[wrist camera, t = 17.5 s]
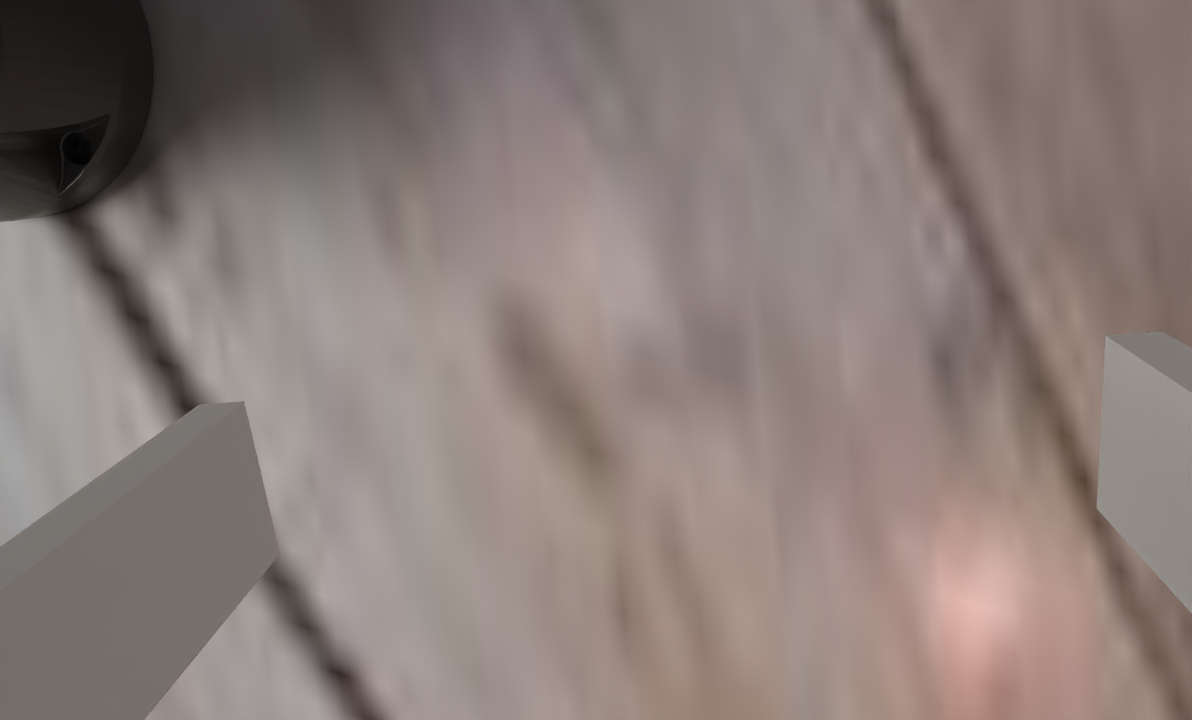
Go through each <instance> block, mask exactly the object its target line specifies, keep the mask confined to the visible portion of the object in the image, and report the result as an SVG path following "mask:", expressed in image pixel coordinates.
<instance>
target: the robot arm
mask: <svg viewBox="0 0 1192 720" xmlns="http://www.w3.org/2000/svg"><path fill="white" fill-rule="evenodd" d="M152 81H153V64H152V52H151V44H150V38H149V33H148V29H147V24H146V21H145V17H144V14H143V10H142V8H141V5H140V2H139V0H0V222H3V221H15V220H22V219H29V218H36V217H43V216H48V215H53V214H57V213H60V212H63V211H66V210H69V209H71V208H74V207H76V206H78V205H80V204H82V203H84V202H86V201H87V200H89V199H90V198H92V197H94V196H95V195H96V194H98V193H99V192H100V191H102V190H103V189H104V188H105V187H106V186H107V185H108V184H109V183H111V181H112V180H113V179H114V178H115V177H116V176H117V175H118V174H119V173H120V171H121V170H122V169H123V167H124V166H125V165H126V163H127V162H128V160H129V159H130V157H131V155H132V154H133V152H134V150H135V148H136V146H137V144H138V142H139V139H140V137H141V135H142V132H143V129H144V126H145V123H146V120H147V116H148V112H149V107H150V102H151V94H152ZM1097 509H1098V510H1099V511H1100V513H1101V514H1102V515H1103V516H1104V517H1105V518H1106V519H1107V520H1108V521H1109V523H1110V524H1111V525H1112V526H1113V527H1114V528H1115V529H1116V530H1117V531H1118V532H1119V534H1120V535H1121V536H1122V537H1123V538H1124V539H1125V540H1126V541H1127V542H1128V544H1129V545H1130V546H1131V547H1132V548H1133V549H1134V550H1135V551H1136V552H1137V553H1138V555H1139V556H1140V557H1141V558H1142V559H1143V560H1144V561H1145V562H1146V563H1147V564H1148V566H1149V567H1150V568H1151V569H1152V570H1153V571H1154V572H1155V573H1156V574H1157V576H1158V577H1159V578H1160V579H1161V580H1162V581H1163V582H1164V583H1165V584H1166V585H1167V587H1168V588H1169V589H1170V590H1171V591H1172V592H1173V593H1174V594H1175V595H1176V597H1177V598H1178V599H1179V600H1180V601H1181V602H1182V603H1183V604H1184V605H1185V606H1186V608H1187V609H1188V610H1189V611H1190V612H1191V613H1192V348H1190V347H1188V346H1187V345H1185V344H1183V343H1181V342H1180V341H1178V340H1176V339H1175V338H1173V337H1171V336H1169V335H1168V334H1166V333H1164V332H1163V331H1159V332H1146V333H1132V334H1119V335H1106V337H1105V357H1104V376H1103V396H1102V416H1101V435H1100V455H1099V474H1098V494H1097ZM279 554H280V552H279V548H278V544H277V540H276V535H275V531H274V527H273V523H272V518H271V514H270V510H269V506H268V501H267V497H266V493H265V489H264V484H263V480H262V476H261V471H260V467H259V463H258V459H257V454H256V450H255V446H254V442H253V437H252V433H251V429H250V425H249V420H248V416H247V412H246V408H245V403H244V401H242V402H229V403H216V404H203V405H198V406H197V407H195V408H194V409H193V410H191V411H190V412H188V413H187V414H186V415H184V416H183V417H181V418H180V419H179V420H177V421H176V422H174V423H173V424H172V425H170V426H169V427H167V428H166V429H165V430H163V431H162V432H160V433H159V434H158V435H156V436H155V437H153V438H152V439H151V440H149V441H148V442H146V443H145V444H144V445H142V446H141V447H139V448H138V449H137V450H135V451H134V452H132V453H131V454H130V455H128V456H127V457H126V458H124V459H123V460H121V461H120V462H119V463H117V464H116V465H114V466H113V467H112V468H110V469H109V470H107V471H106V472H105V473H103V474H102V475H100V476H99V477H98V478H96V479H95V480H93V481H92V482H91V483H89V484H88V485H86V486H85V487H84V488H82V489H81V490H79V491H78V492H77V493H75V494H74V495H72V496H71V497H70V498H68V499H67V500H65V501H64V502H63V503H61V504H60V505H58V506H57V507H56V508H54V509H53V510H51V511H50V512H49V513H47V514H46V515H44V516H43V517H42V518H40V519H39V520H37V521H36V522H35V523H33V524H32V525H30V526H29V527H28V528H26V529H25V530H23V531H22V532H21V533H19V534H18V535H16V536H15V537H14V538H12V539H11V540H9V541H8V542H7V543H5V544H4V545H2V546H1V547H0V720H144V719H145V718H146V717H147V716H148V714H149V713H150V712H151V711H152V710H153V708H154V707H155V706H156V705H157V703H158V702H159V701H160V700H161V699H162V697H163V696H164V695H165V694H166V692H167V691H168V690H169V689H170V688H171V686H172V685H173V684H174V683H175V681H176V680H177V679H178V678H179V677H180V675H181V674H182V673H183V672H184V670H185V669H186V668H187V667H188V666H189V664H190V663H191V662H192V661H193V659H194V658H195V657H196V656H197V655H198V653H199V652H200V651H201V650H202V648H203V647H204V646H205V645H206V644H207V642H208V641H209V640H210V639H211V637H212V636H213V635H214V634H215V633H216V631H217V630H218V629H219V628H220V626H221V625H222V624H223V623H224V622H225V620H226V619H227V618H228V617H229V615H230V614H231V613H232V612H233V611H234V609H235V608H236V607H237V606H238V604H239V603H240V602H241V601H242V600H243V598H244V597H245V596H246V595H247V593H248V592H249V591H250V590H251V589H252V587H253V586H254V585H255V584H256V582H257V581H258V580H259V579H260V578H261V576H262V575H263V574H264V573H265V571H266V570H267V569H268V568H269V567H270V565H271V564H272V563H273V562H274V560H275V559H276V558H277V557H278V556H279Z"/></svg>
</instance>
